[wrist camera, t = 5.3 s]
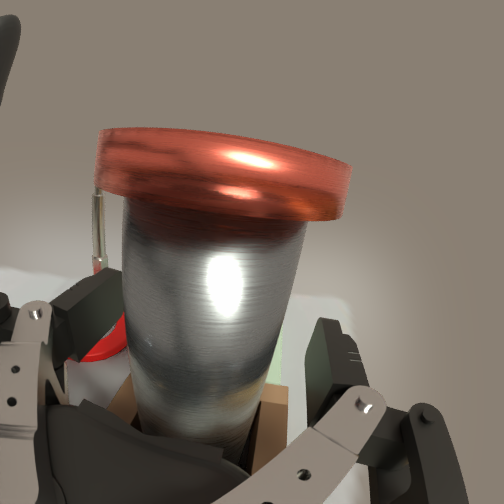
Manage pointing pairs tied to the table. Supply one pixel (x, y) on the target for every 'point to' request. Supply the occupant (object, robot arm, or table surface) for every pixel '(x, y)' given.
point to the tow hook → (100, 261)
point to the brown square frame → (263, 426)
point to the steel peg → (209, 268)
